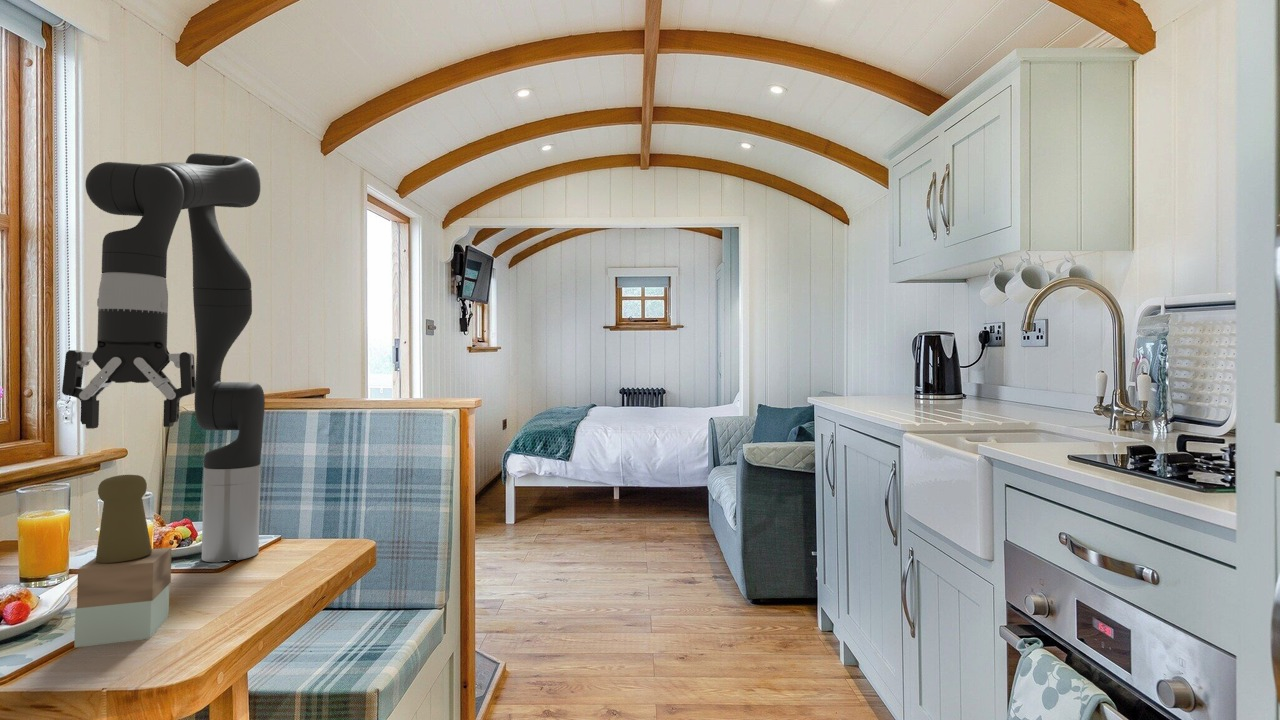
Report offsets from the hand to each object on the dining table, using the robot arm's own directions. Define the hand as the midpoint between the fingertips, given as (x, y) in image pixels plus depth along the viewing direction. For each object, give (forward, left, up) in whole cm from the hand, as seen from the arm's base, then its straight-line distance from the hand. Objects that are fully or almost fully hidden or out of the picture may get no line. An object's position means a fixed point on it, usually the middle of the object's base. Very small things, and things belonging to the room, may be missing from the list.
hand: (130, 427), depth 88 cm
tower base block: (0, 0, -28) cm, 28 cm away
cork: (0, 0, -18) cm, 18 cm away
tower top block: (0, 0, -23) cm, 23 cm away
